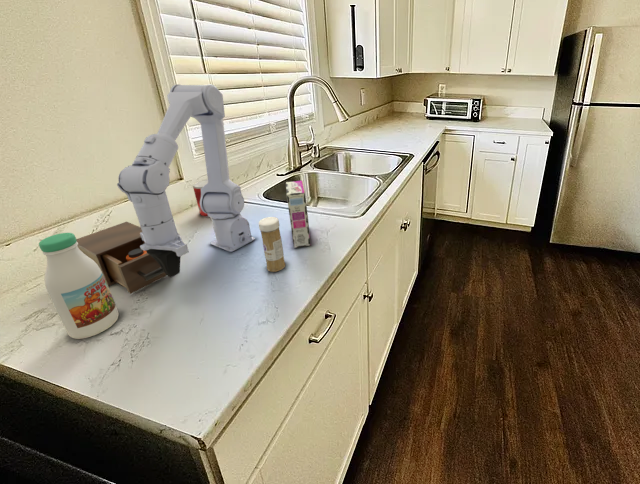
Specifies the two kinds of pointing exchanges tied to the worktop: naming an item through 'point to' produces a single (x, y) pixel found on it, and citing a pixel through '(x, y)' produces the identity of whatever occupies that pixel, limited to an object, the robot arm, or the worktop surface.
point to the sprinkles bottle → (272, 243)
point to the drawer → (132, 267)
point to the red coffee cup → (199, 194)
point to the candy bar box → (298, 213)
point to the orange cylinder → (135, 254)
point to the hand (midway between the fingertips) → (173, 274)
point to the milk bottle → (77, 288)
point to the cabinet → (108, 243)
